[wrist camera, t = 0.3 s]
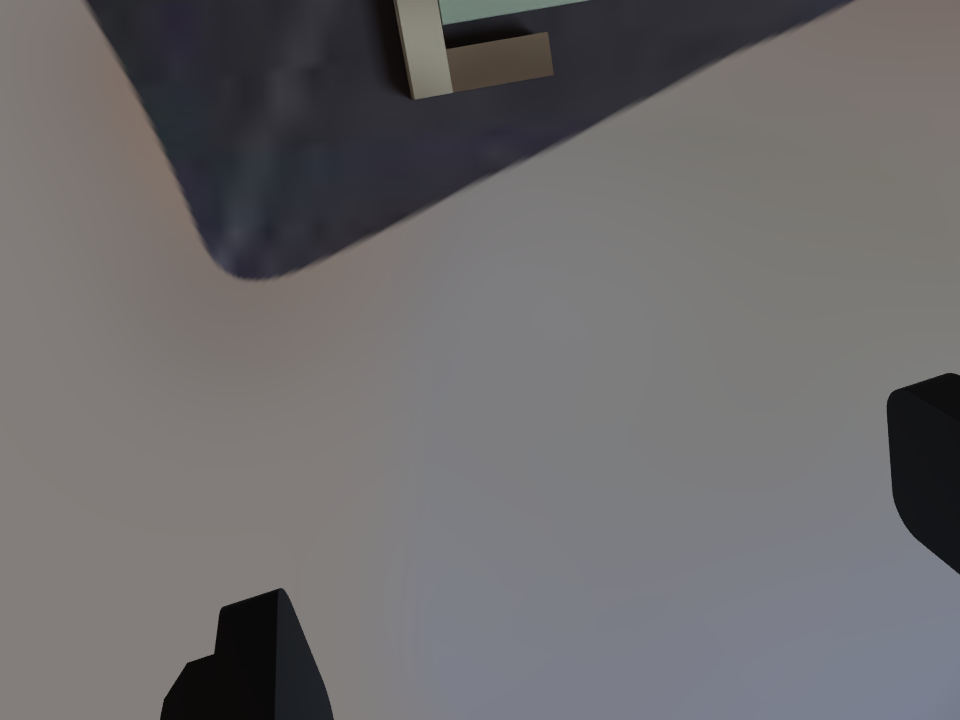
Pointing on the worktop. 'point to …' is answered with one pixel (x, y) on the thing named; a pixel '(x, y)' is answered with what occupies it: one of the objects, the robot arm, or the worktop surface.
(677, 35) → the worktop surface
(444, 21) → the mat
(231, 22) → the worktop surface
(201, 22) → the worktop surface
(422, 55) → the guide fence
